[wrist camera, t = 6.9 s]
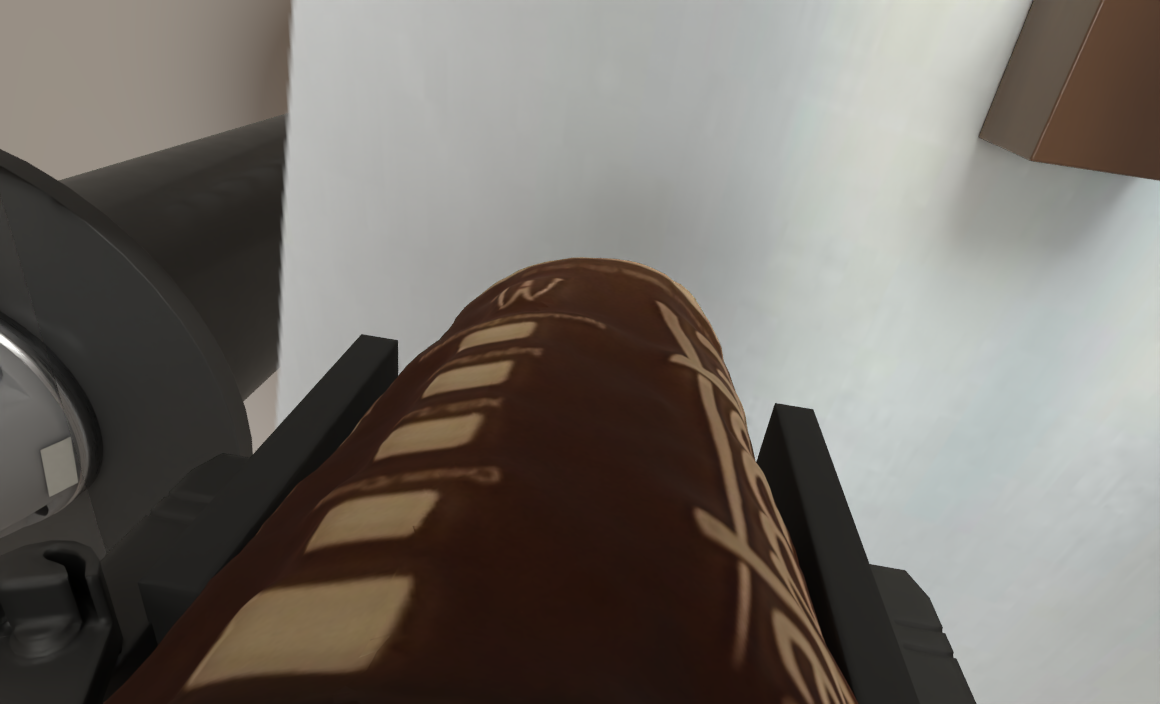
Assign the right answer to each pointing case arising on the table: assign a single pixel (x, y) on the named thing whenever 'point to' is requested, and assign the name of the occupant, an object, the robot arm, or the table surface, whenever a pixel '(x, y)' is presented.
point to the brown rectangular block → (1083, 88)
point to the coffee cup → (523, 529)
